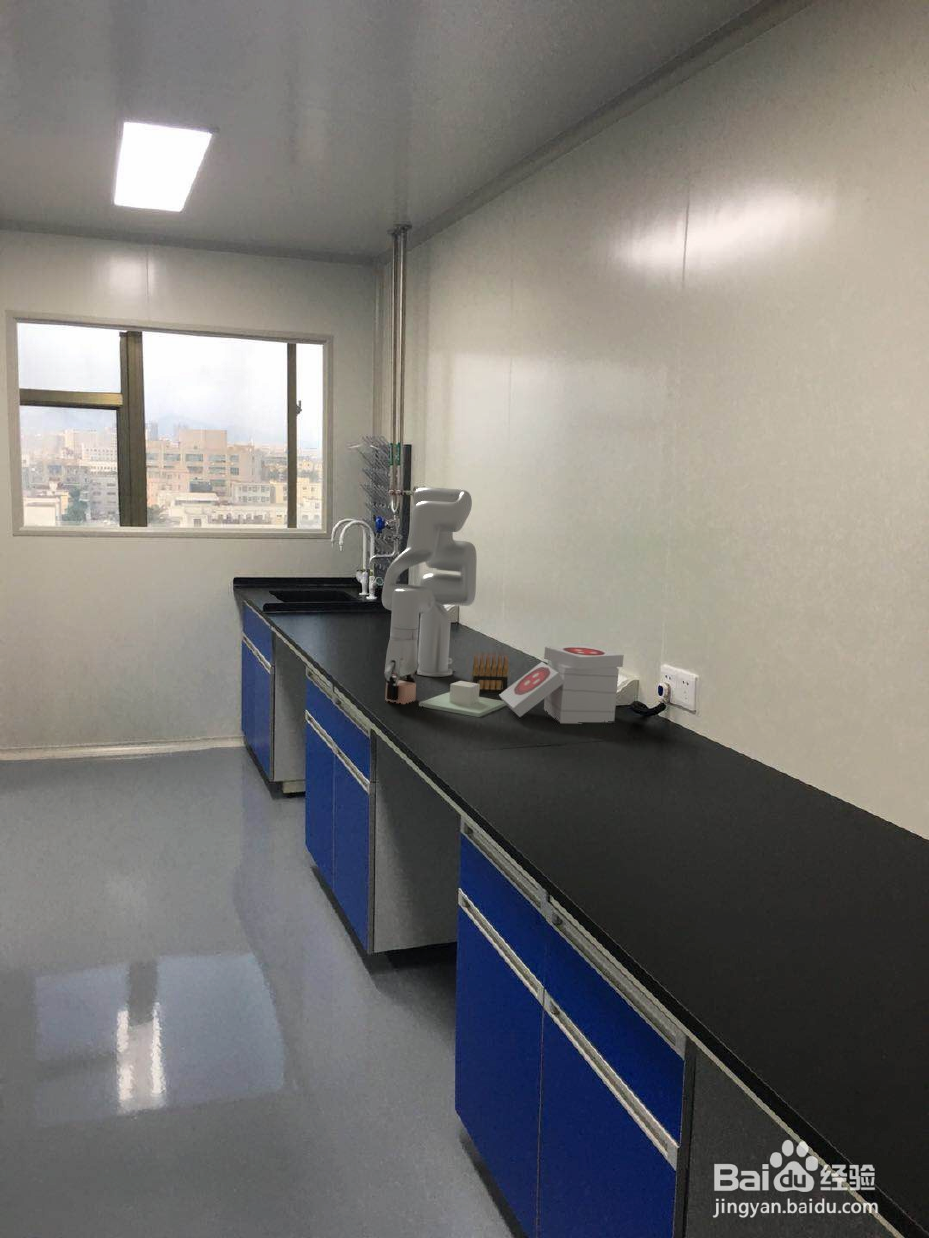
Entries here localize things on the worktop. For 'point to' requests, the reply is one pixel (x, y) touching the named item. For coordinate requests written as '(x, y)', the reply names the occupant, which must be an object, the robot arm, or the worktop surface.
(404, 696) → the coral brick
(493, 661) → the ammunition clip
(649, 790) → the worktop surface
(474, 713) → the base plate
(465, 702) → the cream brick
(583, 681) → the pizza boxes
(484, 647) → the worktop surface
